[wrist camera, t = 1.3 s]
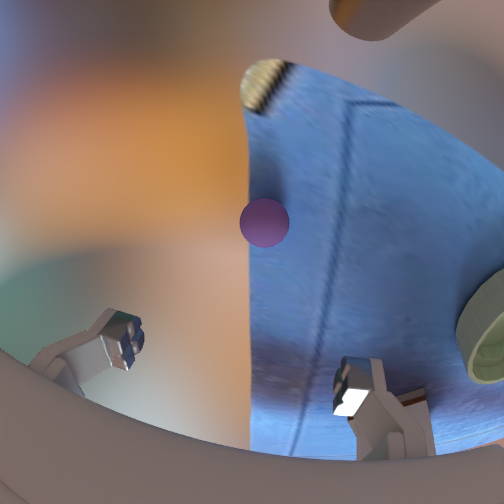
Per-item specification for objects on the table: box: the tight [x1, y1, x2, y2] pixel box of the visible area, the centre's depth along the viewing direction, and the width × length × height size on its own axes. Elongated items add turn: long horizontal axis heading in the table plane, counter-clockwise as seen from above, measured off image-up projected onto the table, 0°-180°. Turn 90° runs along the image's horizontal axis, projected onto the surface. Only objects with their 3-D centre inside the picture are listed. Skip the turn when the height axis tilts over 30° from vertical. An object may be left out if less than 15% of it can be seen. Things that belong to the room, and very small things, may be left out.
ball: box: [240, 198, 289, 248], centre depth 21 cm, size 4×4×4 cm
